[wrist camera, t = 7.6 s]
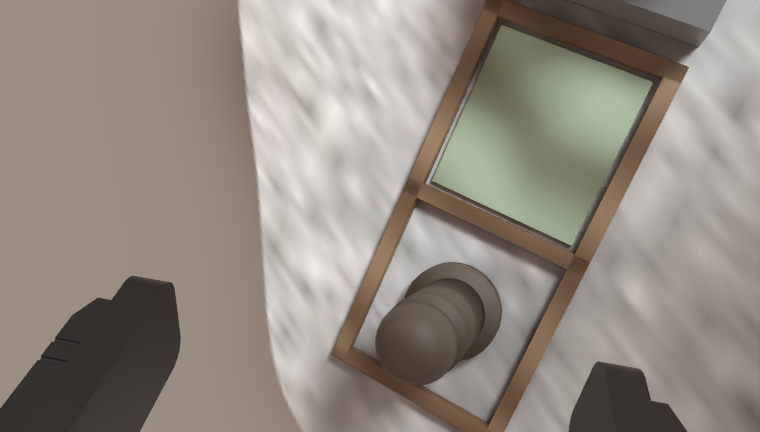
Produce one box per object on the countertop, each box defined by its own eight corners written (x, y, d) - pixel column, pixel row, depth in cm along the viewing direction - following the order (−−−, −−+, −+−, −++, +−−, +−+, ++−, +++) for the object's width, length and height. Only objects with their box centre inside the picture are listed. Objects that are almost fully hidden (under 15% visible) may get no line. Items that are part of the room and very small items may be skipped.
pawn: (431, 246, 33) (374, 267, 25) (517, 289, 32) (490, 327, 23) (394, 328, 34) (326, 376, 26) (476, 373, 33) (435, 440, 24)
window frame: (491, -3, 32) (489, -6, 31) (687, 69, 29) (688, 66, 29) (335, 351, 35) (331, 354, 35) (496, 444, 33) (495, 449, 32)
